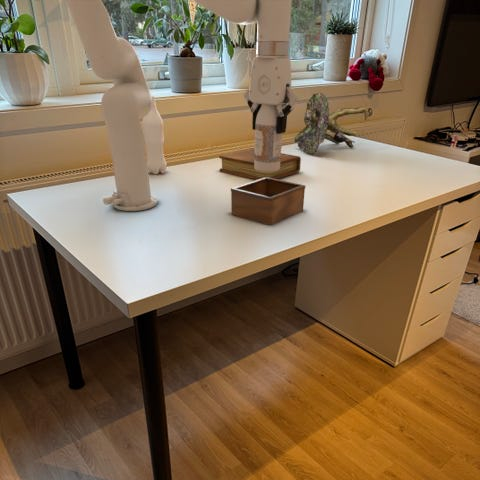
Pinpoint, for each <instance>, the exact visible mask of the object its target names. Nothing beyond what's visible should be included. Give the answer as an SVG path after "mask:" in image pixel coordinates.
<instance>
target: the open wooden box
mask: <svg viewBox="0 0 480 480" xmlns="http://www.w3.org/2000/svg"><path fill="white" fill-rule="evenodd" d="M305 191H306V185H305V184H300V183H297V182H291V181H286V180H282V179H273V178H268V177H265V178H262V179H259V180H256V179H255V180H253V181H250V182H247V183H243V184H241V185H238V186H235V187H231V188H230V195H231V196H230V197H231V199H230V204H231V207H230V208H231V211H230V212H231V215H233V216H237V217H239V218H243V219H247V220H250V221H254V222H257V223H261V224H264V225H268V226H272V225H274V224H277V223H278V222H281V221H283V220H285V219H288V218H290V217H292V216H294V215H296V214H299V213H301V212H303V211H304V203H305V193H306V192H305Z"/></svg>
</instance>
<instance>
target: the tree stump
mask: <svg viewBox="0 0 480 480" xmlns="http://www.w3.org/2000/svg"><path fill="white" fill-rule="evenodd" d="M329 104H330V103H329V101H328V97H326V95H325V94H324V93H322V92H317V93H313V94H312V96H310V98H309V100H308V101H307V102H306V110H305V113H304V117H303V122H304V125H305V127H304V128H303V129H302V130H301V131H299V133H297V134H296V135H295V136H294V143H295V144H297V148H298V149H300V150H302V151H303V152H304V153H306V154H308V155H310V154H313V153H317V151H318V149H320V148H319V146H320V144H323V143H324V142H325V140H327V141H328V142H329V141H330V142H332V143H333V144H335V145H339V144H342V143H345V144H346V146H347V147H348V148H350V149H353V148H354V145H353V143H354V144H355V143H356V141H354V140H352V139H350V138H349V137H350V136H351V137H352V136H354V137H355V136H356V135H357V131H354V130H351V129H348V128H346V127H344V126H341V125H340V124H339V123H337V120H338V118H340V117H344V116H349V115H358V114H364V113H365V111H367V108H366V107H362V106H361V107H354V108H351V107H343V108H339V109H337V110H335V111H332V112H331V113H330V105H329ZM328 131H330V132H331V133H332V134H333V133H334V135H331V134H329V133H328Z"/></svg>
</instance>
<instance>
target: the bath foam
mask: <svg viewBox="0 0 480 480" xmlns="http://www.w3.org/2000/svg"><path fill="white" fill-rule="evenodd" d="M278 116H279V113H278V109H277V106H276V105H269V104H263V105H262V107H261V108H260V110H259V112H258V114H257V117H256V124H255V130H254V149H255V155H254V168H255V169H256V170H257V171H261V172H275V171H278V170H279V169H280V160H281V153H282V142H283V133H281V134H277V133H276V126H277V117H278Z"/></svg>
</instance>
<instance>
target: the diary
mask: <svg viewBox="0 0 480 480" xmlns="http://www.w3.org/2000/svg"><path fill="white" fill-rule="evenodd" d="M254 155H255V147H254V148H252V147H251V148H247V149H242V150H237V151H234V152H230V153H225V154H220V155H218V159H221V168H219V172H221V173H225V174H230V175H233V176H238V177H242V178H247V179H251V180H255V181H256V180H259V179H262V178H265V177H268V178H273V179H278V180H280V179H282V178H286V177H288V176H292V175H294V174H295V175H296V174H298V173H300V171H301V161H302V158H301V156H300V155H299V156H298V155H293V154H288V153H283V152H281V160H280V169H279V170H278V171H275V172H261V171H257V170H256V169H255V168H254Z"/></svg>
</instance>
